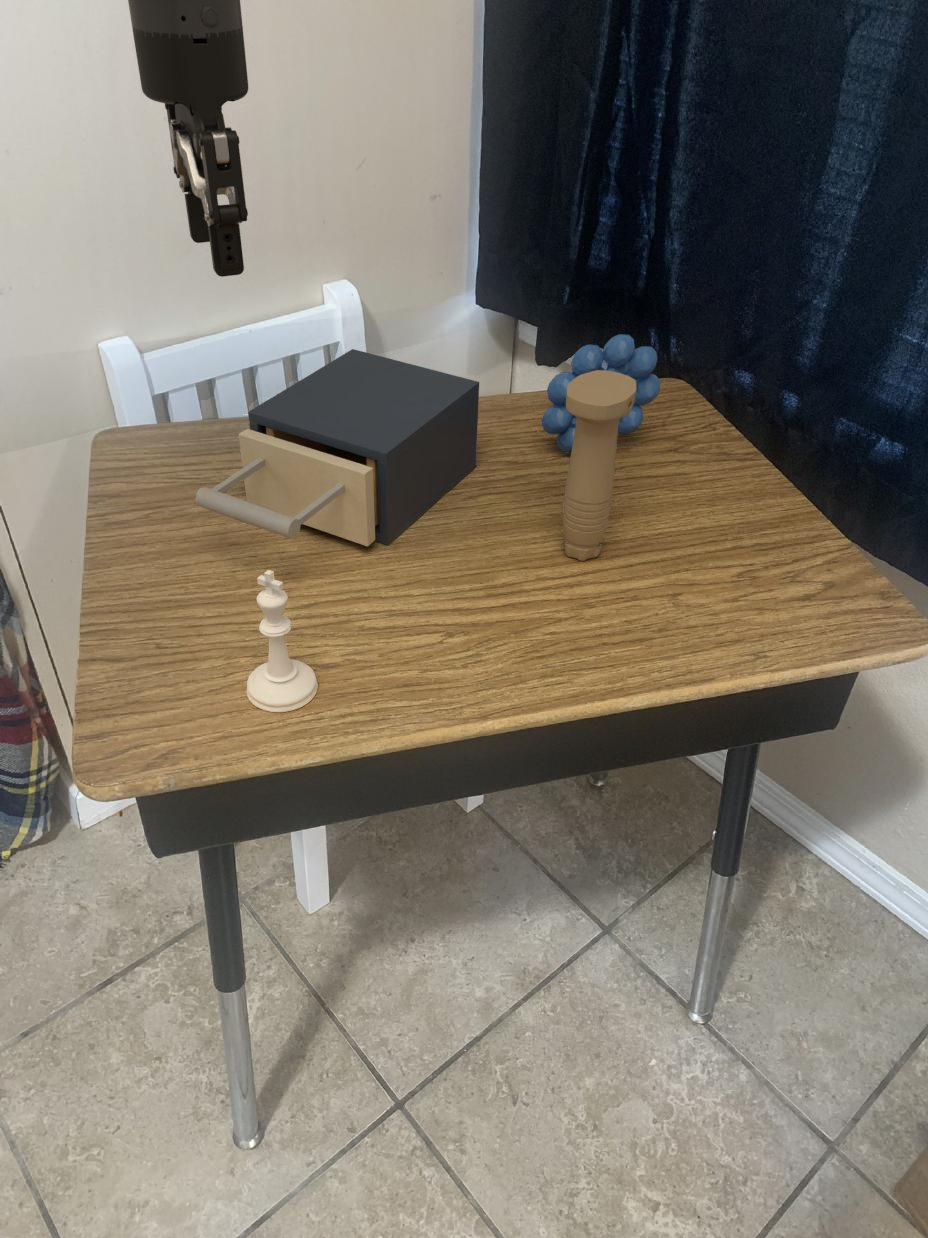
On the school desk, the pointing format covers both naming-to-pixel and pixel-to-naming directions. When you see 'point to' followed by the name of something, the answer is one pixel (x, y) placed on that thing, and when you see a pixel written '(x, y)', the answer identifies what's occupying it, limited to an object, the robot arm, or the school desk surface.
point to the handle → (593, 457)
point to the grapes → (613, 358)
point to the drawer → (299, 488)
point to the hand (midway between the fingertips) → (216, 256)
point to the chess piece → (278, 657)
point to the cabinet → (386, 427)
